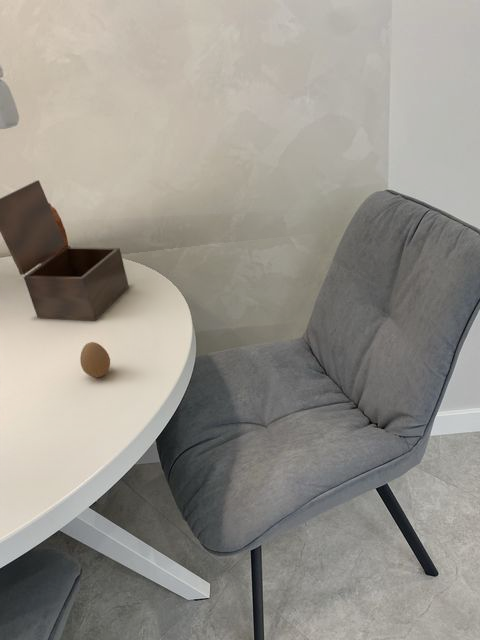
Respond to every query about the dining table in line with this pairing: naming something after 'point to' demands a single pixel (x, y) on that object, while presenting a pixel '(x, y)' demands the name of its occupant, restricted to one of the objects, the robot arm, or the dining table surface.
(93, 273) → the chest
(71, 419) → the dining table surface
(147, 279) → the dining table surface
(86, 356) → the egg
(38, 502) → the dining table surface
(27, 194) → the chest lid
